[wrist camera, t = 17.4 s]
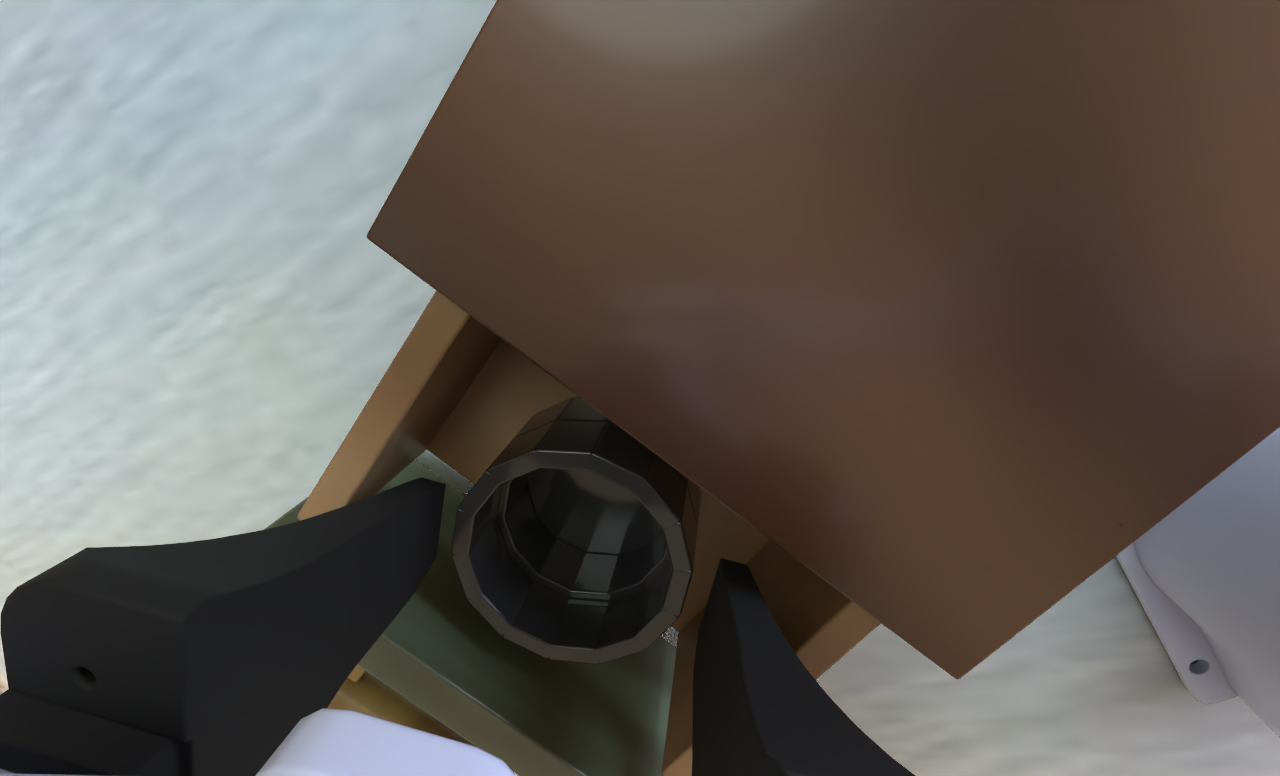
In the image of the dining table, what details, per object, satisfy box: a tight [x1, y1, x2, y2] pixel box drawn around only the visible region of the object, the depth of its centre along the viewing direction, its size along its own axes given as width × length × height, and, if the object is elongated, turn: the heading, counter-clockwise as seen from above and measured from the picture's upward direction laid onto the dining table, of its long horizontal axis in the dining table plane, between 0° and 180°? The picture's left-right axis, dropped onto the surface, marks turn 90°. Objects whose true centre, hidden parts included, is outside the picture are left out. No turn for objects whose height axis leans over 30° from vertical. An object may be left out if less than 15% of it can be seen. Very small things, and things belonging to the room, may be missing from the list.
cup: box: [451, 396, 701, 664], centre depth 16 cm, size 6×6×4 cm
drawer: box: [264, 290, 880, 776], centre depth 17 cm, size 17×12×6 cm
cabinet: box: [367, 0, 1280, 679], centre depth 13 cm, size 13×13×8 cm
